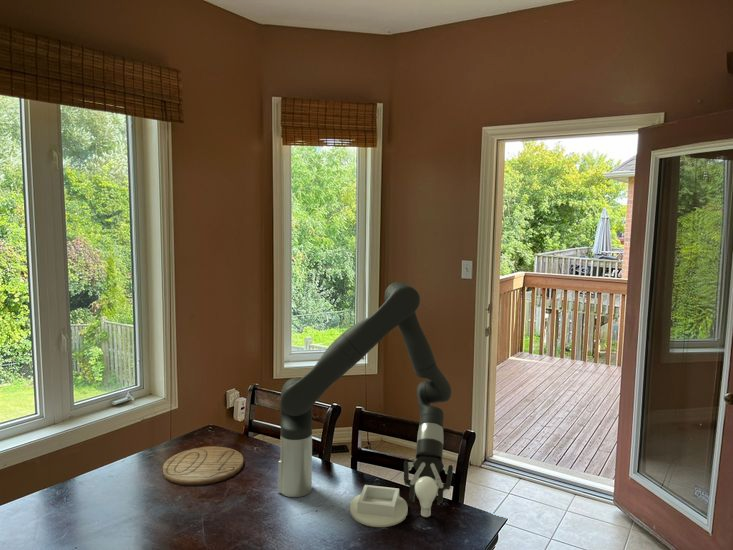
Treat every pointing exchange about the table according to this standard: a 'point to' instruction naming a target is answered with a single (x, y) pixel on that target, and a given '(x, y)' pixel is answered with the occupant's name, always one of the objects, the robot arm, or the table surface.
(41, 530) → the table surface
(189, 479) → the trivet
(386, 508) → the lamp base
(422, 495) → the lightbulb
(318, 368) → the robot arm
